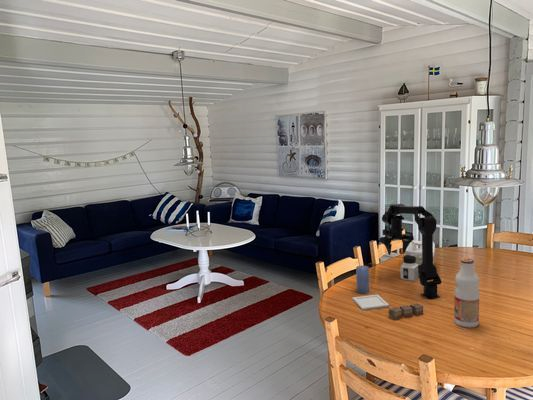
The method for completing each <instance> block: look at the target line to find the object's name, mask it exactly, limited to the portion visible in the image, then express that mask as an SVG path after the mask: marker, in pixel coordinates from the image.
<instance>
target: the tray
mask: <svg viewBox="0 0 533 400" xmlns="http://www.w3.org/2000/svg"><path fill="white" fill-rule="evenodd" d="M352 301H353V302H354V303H355V305H357V307H359V308H360V309H361V310H362V311H369V310H377V309H386V308H390V304H389V303H388V302H387V301H386V300H384V299H383V298H382V297H381V296H380V295H379V294H370V295H363V296H361V295H360V296H355V297H353V296H352Z"/></svg>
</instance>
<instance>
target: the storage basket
mask: <svg viewBox="0 0 533 400" xmlns="http://www.w3.org/2000/svg"><path fill="white" fill-rule="evenodd" d="M417 246H422V240H412V242H410V244H409V245H408V247H407V249H406V251H405V253H404V256H405V255H413V256H415V257H416V264H418V265H421V264H422V248H420V247H417ZM435 252H436V245H435V242H434V241H433V264H434V265H435V261H434V260H435V258H434V257H435Z"/></svg>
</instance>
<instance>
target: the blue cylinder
mask: <svg viewBox="0 0 533 400" xmlns="http://www.w3.org/2000/svg"><path fill="white" fill-rule="evenodd" d="M355 269H356V270H355V274H356V276H355V278H356V292H357V293H358V294H361V295H362V294H365V295H366V294H367V295H368V294H369V293H370V267H369V266H368V265H357V266H355Z"/></svg>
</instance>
